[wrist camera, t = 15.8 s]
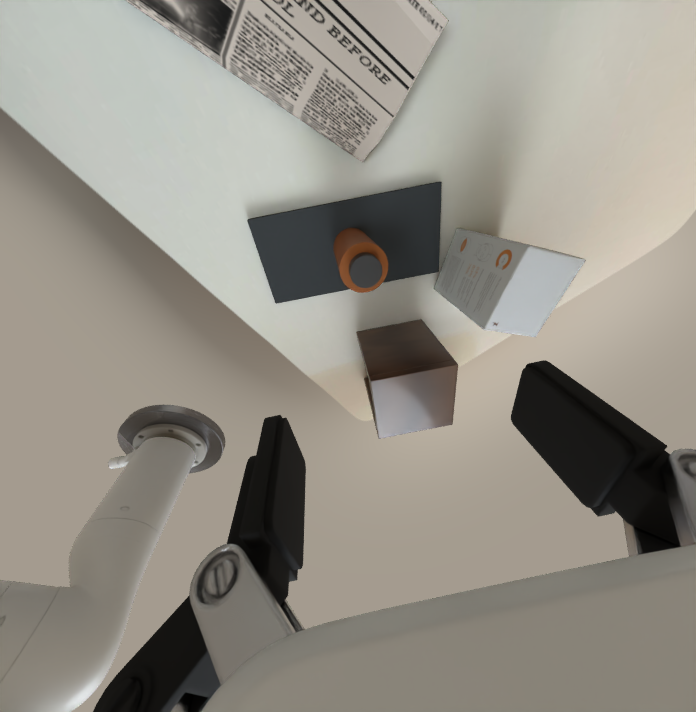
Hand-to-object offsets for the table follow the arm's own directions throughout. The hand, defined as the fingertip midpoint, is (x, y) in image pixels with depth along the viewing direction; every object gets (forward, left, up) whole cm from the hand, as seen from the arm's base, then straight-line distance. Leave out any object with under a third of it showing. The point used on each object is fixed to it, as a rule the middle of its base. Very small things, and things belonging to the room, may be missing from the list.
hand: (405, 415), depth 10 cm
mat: (+1, +2, -27) cm, 27 cm away
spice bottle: (+1, +2, -26) cm, 26 cm away
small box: (+16, -3, -27) cm, 32 cm away
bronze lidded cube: (+5, -15, -27) cm, 32 cm away
